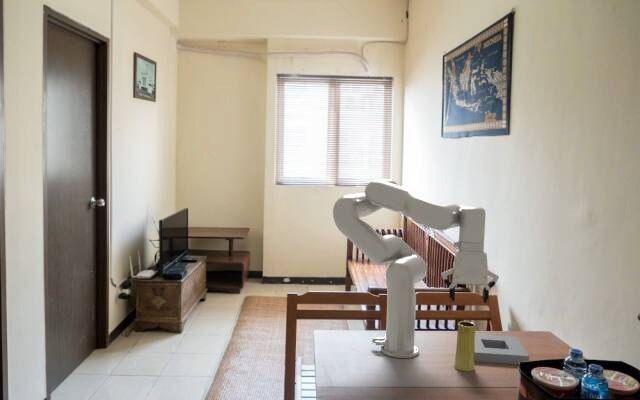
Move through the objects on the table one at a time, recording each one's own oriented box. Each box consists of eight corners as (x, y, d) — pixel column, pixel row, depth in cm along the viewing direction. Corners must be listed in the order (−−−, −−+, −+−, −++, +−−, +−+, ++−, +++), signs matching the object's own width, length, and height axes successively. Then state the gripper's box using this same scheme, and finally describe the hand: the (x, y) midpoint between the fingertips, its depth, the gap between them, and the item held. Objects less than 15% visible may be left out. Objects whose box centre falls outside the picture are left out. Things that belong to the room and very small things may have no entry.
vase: (474, 372, 170) (477, 327, 169) (454, 370, 171) (456, 326, 170) (473, 365, 176) (476, 321, 174) (453, 363, 177) (456, 320, 176)
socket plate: (471, 361, 179) (471, 352, 179) (463, 341, 197) (464, 333, 197) (528, 365, 177) (529, 356, 177) (515, 344, 195) (516, 336, 195)
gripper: (443, 247, 167) (441, 302, 169) (502, 250, 165) (499, 306, 167) (441, 243, 174) (438, 296, 176) (497, 245, 172) (494, 299, 174)
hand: (468, 301), depth 171 cm, fingers open, 9 cm apart
